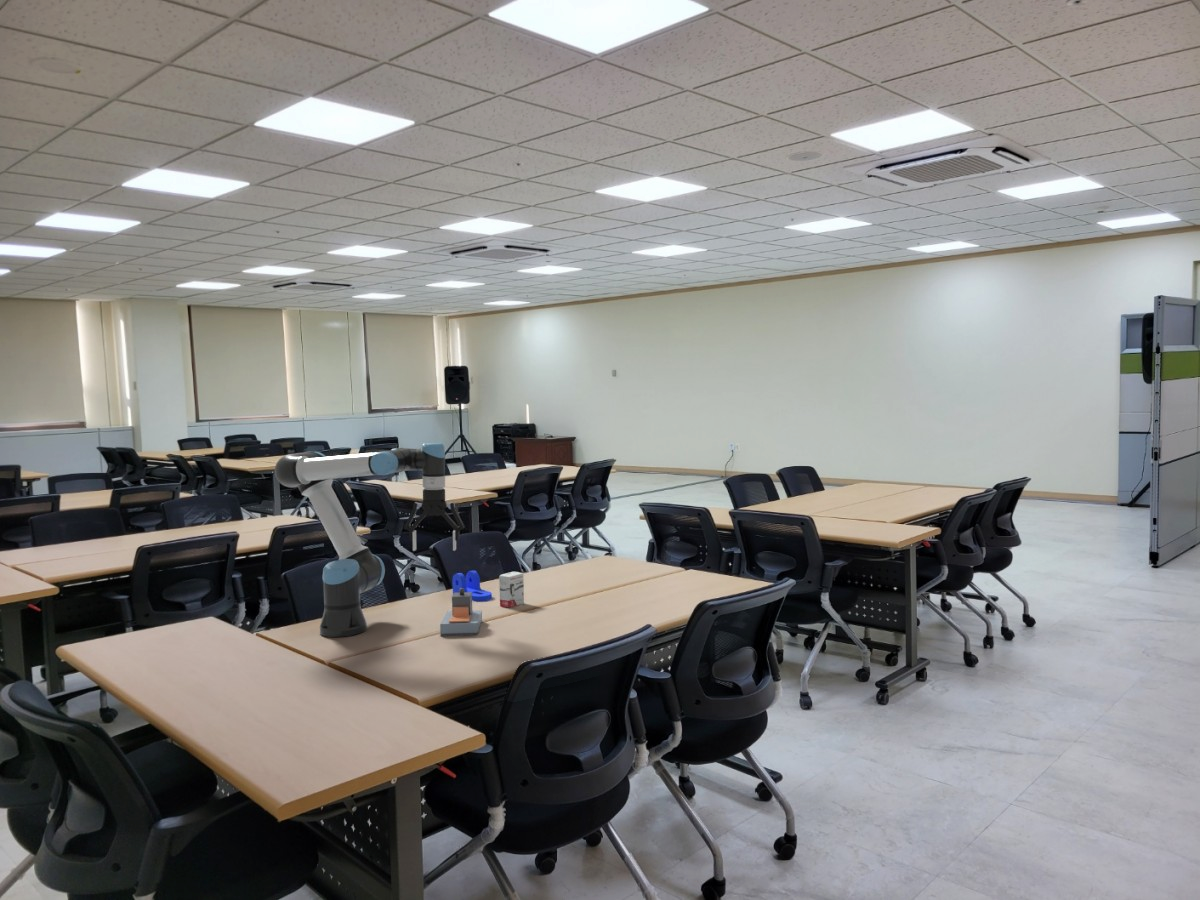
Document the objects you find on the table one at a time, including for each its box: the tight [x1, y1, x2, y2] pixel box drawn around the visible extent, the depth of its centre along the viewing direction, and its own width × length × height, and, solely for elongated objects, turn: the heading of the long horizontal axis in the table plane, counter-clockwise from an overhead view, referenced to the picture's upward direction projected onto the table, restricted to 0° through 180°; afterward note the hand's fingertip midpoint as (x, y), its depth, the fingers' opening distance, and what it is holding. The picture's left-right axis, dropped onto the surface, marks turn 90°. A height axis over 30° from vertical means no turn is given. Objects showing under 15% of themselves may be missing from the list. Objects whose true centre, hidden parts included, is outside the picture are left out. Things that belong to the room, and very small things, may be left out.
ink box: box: [498, 571, 525, 609], centre depth 310 cm, size 9×5×12 cm, turn 143°
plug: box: [451, 588, 473, 615], centre depth 282 cm, size 6×6×12 cm
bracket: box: [451, 570, 493, 602], centre depth 324 cm, size 18×8×9 cm, turn 41°
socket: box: [439, 609, 483, 637], centre depth 279 cm, size 12×16×4 cm
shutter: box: [449, 607, 471, 622], centre depth 275 cm, size 7×7×3 cm
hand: (434, 550), depth 284 cm, fingers open, 13 cm apart
